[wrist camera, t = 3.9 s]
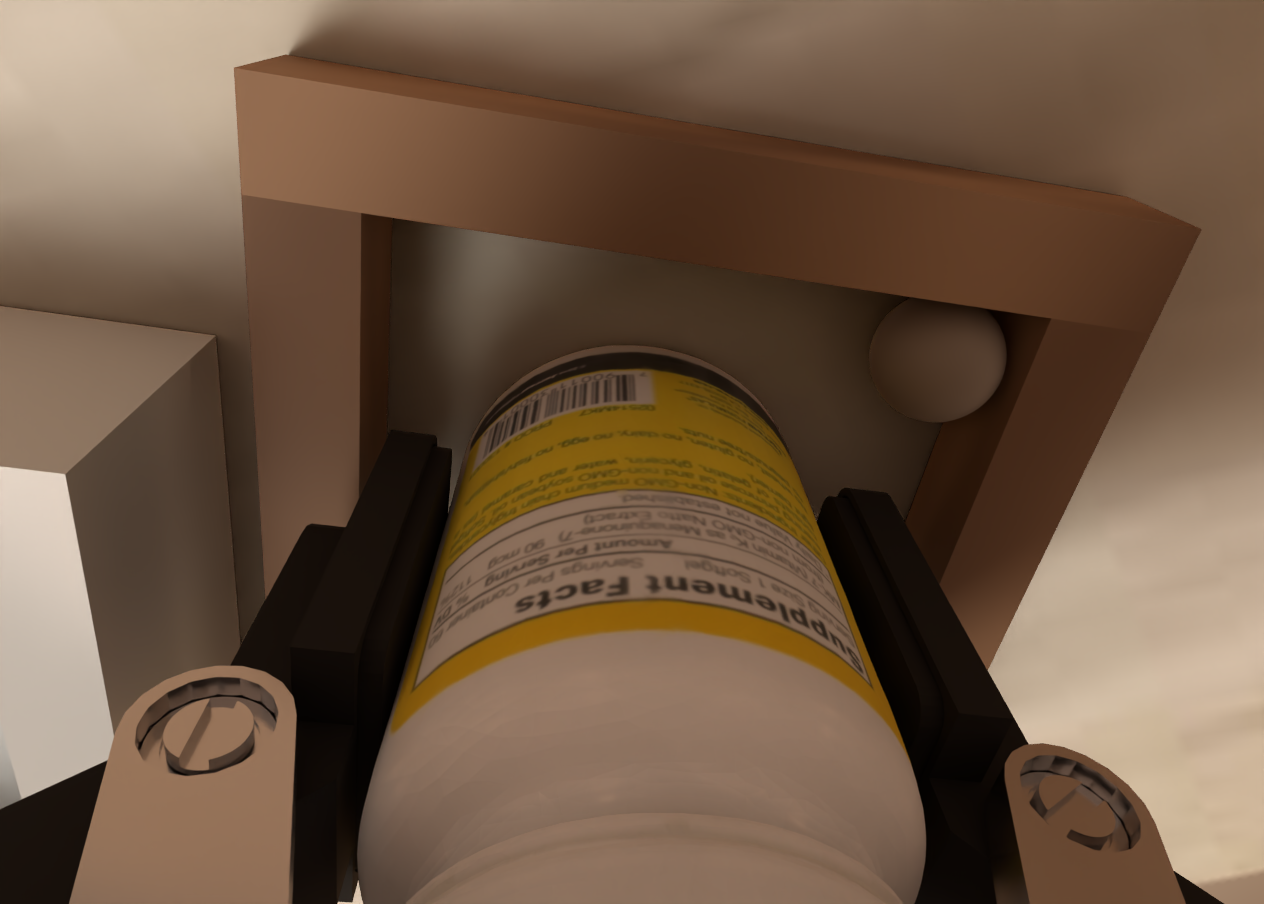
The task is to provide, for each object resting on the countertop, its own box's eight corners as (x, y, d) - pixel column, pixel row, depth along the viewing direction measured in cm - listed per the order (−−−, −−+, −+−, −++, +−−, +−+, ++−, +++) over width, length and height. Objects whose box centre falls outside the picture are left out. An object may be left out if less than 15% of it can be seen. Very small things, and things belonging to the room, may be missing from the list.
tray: (1128, 196, 10) (1219, 235, 9) (881, 761, 15) (913, 852, 14) (285, 54, 9) (221, 71, 8) (307, 705, 14) (269, 796, 13)
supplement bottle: (693, 653, 14) (785, 1409, 7) (416, 554, 13) (159, 1327, 6) (855, 416, 12) (1252, 1134, 5) (542, 273, 11) (399, 917, 3)
